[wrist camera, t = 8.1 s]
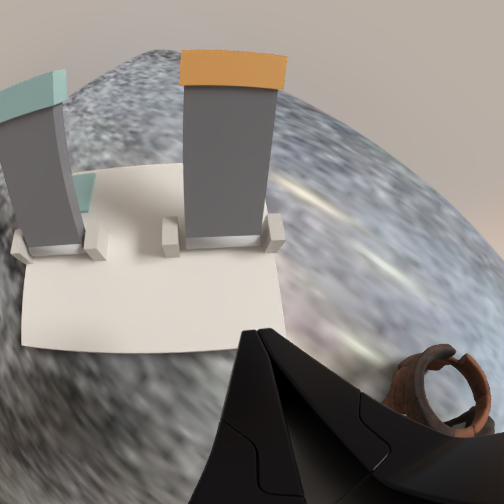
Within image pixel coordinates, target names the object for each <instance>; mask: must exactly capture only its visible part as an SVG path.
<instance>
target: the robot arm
mask: <svg viewBox="0 0 504 504" xmlns="http://www.w3.org/2000/svg"><path fill="white" fill-rule="evenodd" d="M360 392H361V391H360V390H359V389H358V388H356V387H355V386H353V385H352V384H350V383H349V382H347V381H346V380H344V379H343V378H341V377H340V376H338V375H337V374H335V373H334V372H332V371H331V370H329V369H328V368H327V367H325V366H324V365H322V364H321V363H319V362H318V361H317V360H315V359H314V358H312V357H311V356H309V355H308V354H307V353H305V352H304V351H302V350H301V349H300V348H298V347H297V346H295V345H294V344H293V343H291V342H290V341H289V340H287V339H286V338H284V337H283V336H282V335H280V334H279V333H278V332H276V331H275V330H274V329H272V328H262V329H258V330H257V331H256V330H255V329H252V330H243V331H242V332H241V335H240V340H239V344H238V348H237V352H236V356H235V361H234V365H233V369H232V373H231V377H230V381H229V385H228V390H227V394H226V398H225V402H224V406H223V410H222V414H221V418H220V422H219V425H218V430H217V434H216V437H215V440H214V444H213V447H212V451H211V453H210V456H209V458H208V461H207V463H206V466H205V468H204V471H203V473H202V475H201V477H200V480H199V482H198V484H197V486H196V488H195V490H194V492H193V495H192V497H191V499H190V501H189V503H188V504H504V432H502V433H496V434H491V435H484V436H477V437H467V438H466V437H454V436H450V435H447V434H444V433H441V432H439V431H437V430H434V429H432V428H430V427H427V426H425V425H423V424H421V423H418V422H416V421H414V420H412V419H410V418H408V417H406V416H404V415H402V414H400V413H398V412H396V411H394V410H392V409H390V408H388V407H386V406H385V405H383V404H381V403H380V402H378V401H376V400H375V399H373V398H372V397H370V396H368V395H367V394H365V393H364V392H361V393H360Z"/></svg>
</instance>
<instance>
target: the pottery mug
mask: <svg viewBox="0 0 504 504" xmlns="http://www.w3.org/2000/svg"><path fill="white" fill-rule="evenodd" d="M455 353H456V350H455V349H454V348H453V347H452V346H451V345H449V344H439V345H434V346H431V347H429V348H427V349H426V350H425V351H424V352H423V353H418V354H415V355H412V356H410V357H408V358H406V359H405V360H404V361H403V362H401V363H400V364H399V365H398V370H397V371H395V373H394V375H393V378H392V384H391V388H390V391H389V393H388V395H387V397H386V399H385V400H384V401H383V402H382V404H383V405H385V406H386V407H388V408H390V409H392V410H394V411H396V412H398V413H402V414H406V415H407V416H406V417H408V418H410V419H412V420H414V421H416V422H418V423H421V424H423V425H425V426H427V427H430V428H432V429H434V430H437V431H439V432H441V433H444V434H447V435H450V436H454V437H466V438H467V437H477V436H484V435H491V434H494V433H495V430H494V426H495V423H494V421H493V419H492V418H491V417H490V416H489V413H490V408H491V394H490V387H489V384H488V381H487V378H486V376H485V374H484V372H483V370H482V369H481V368H480V366H479V365H478V363H477V362H476V361H475V360H474V359H473V358H472V357H471V356H470V355H469V354H467V353H466V354H465V355H463V356H462V358H461V359H460V360H457V359H455V358H454V357H452V356H453V355H455ZM445 365H452V366H453V367H455V368H456V369H457V370H458V371H459V372H460V373H461V374H462V375H463V376H464V377H465V379H466V380H467V382H468V384H469V386H470V388H471V390H472V392H473V396H474V400H475V401H476V406H473V407H471V408H470V409H469V410H468V411H467V412H465V413H463V414H462V415H460V416H459V417H457V418H454V419H452V420H450V421H447V422H442V421H440V420H439V418H438V417H437V416H436V415H435V413H434V412H433V411H432V409H431V407H430V406H429V404H428V401H427V399H426V395H425V390H424V373H425V369H428V370H434V371H437V370H440V369H441V368H442V367H443V366H445Z"/></svg>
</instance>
